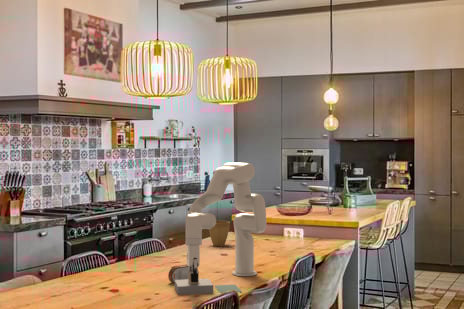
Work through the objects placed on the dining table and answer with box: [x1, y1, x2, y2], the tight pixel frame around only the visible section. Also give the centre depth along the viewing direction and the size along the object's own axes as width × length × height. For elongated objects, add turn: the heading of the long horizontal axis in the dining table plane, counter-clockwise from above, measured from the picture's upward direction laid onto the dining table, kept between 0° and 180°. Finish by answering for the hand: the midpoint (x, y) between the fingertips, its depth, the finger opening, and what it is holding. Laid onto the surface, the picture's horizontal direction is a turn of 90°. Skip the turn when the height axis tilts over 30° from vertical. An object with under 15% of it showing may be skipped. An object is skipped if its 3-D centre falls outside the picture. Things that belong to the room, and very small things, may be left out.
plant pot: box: [208, 220, 231, 247], centre depth 410 cm, size 15×15×16 cm
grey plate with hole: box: [174, 278, 214, 295], centre depth 280 cm, size 14×16×4 cm
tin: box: [167, 263, 190, 284], centre depth 298 cm, size 15×3×8 cm, turn 131°
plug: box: [189, 270, 200, 284], centre depth 280 cm, size 4×4×9 cm
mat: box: [214, 284, 242, 294], centre depth 284 cm, size 14×10×1 cm
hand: (193, 280), depth 280 cm, fingers open, 5 cm apart
